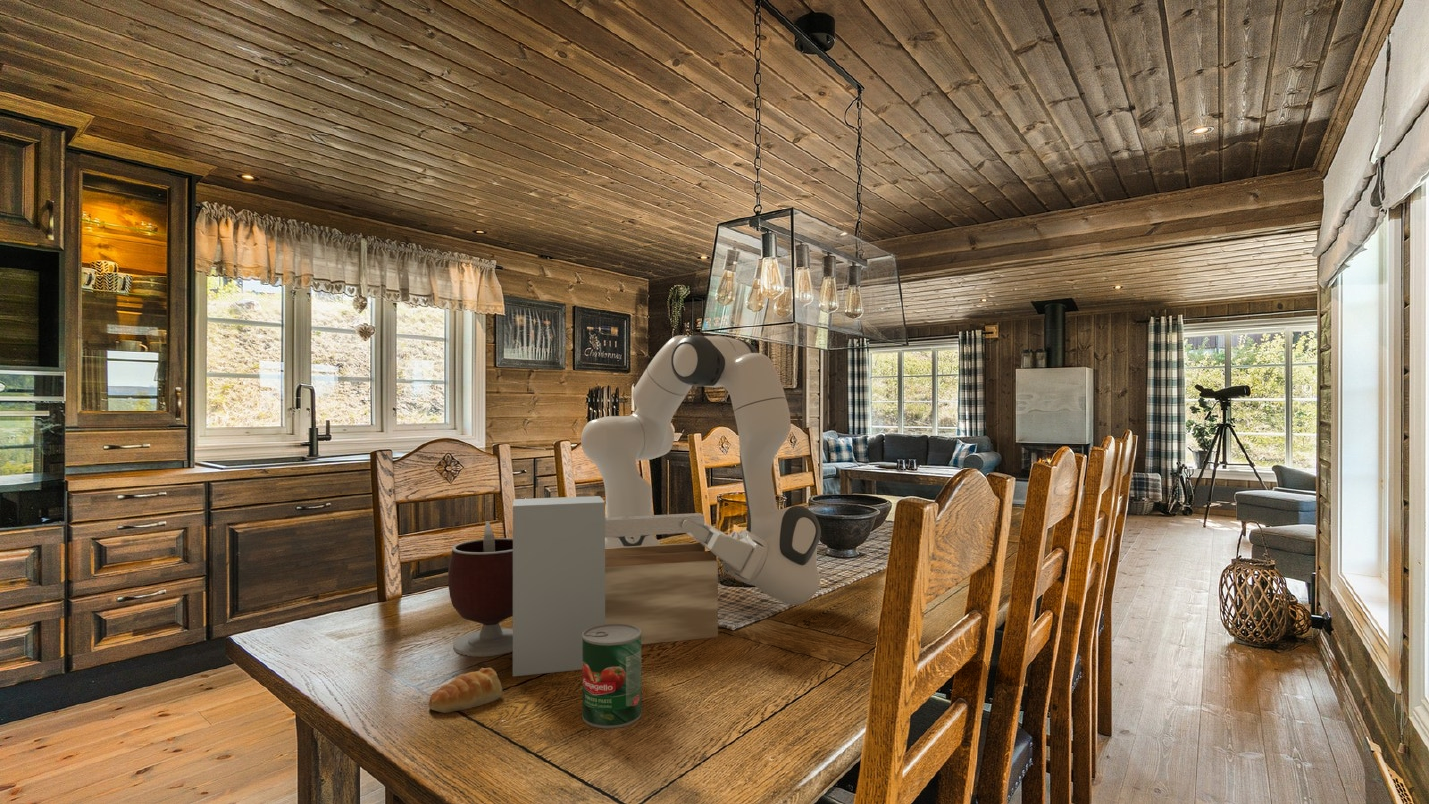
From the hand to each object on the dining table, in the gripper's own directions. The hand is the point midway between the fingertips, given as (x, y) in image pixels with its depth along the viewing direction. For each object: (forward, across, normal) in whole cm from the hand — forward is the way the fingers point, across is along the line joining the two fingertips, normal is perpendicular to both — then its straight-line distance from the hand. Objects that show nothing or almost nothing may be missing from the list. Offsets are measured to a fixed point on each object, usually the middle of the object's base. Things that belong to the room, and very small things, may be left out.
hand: (679, 521), depth 124 cm
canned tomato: (+4, +31, +26) cm, 40 cm away
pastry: (+20, +21, +35) cm, 46 cm away
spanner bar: (+4, 0, +4) cm, 6 cm away
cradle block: (-5, 0, +20) cm, 21 cm away
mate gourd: (+19, -3, +34) cm, 39 cm away
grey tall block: (+9, +10, +28) cm, 32 cm away
